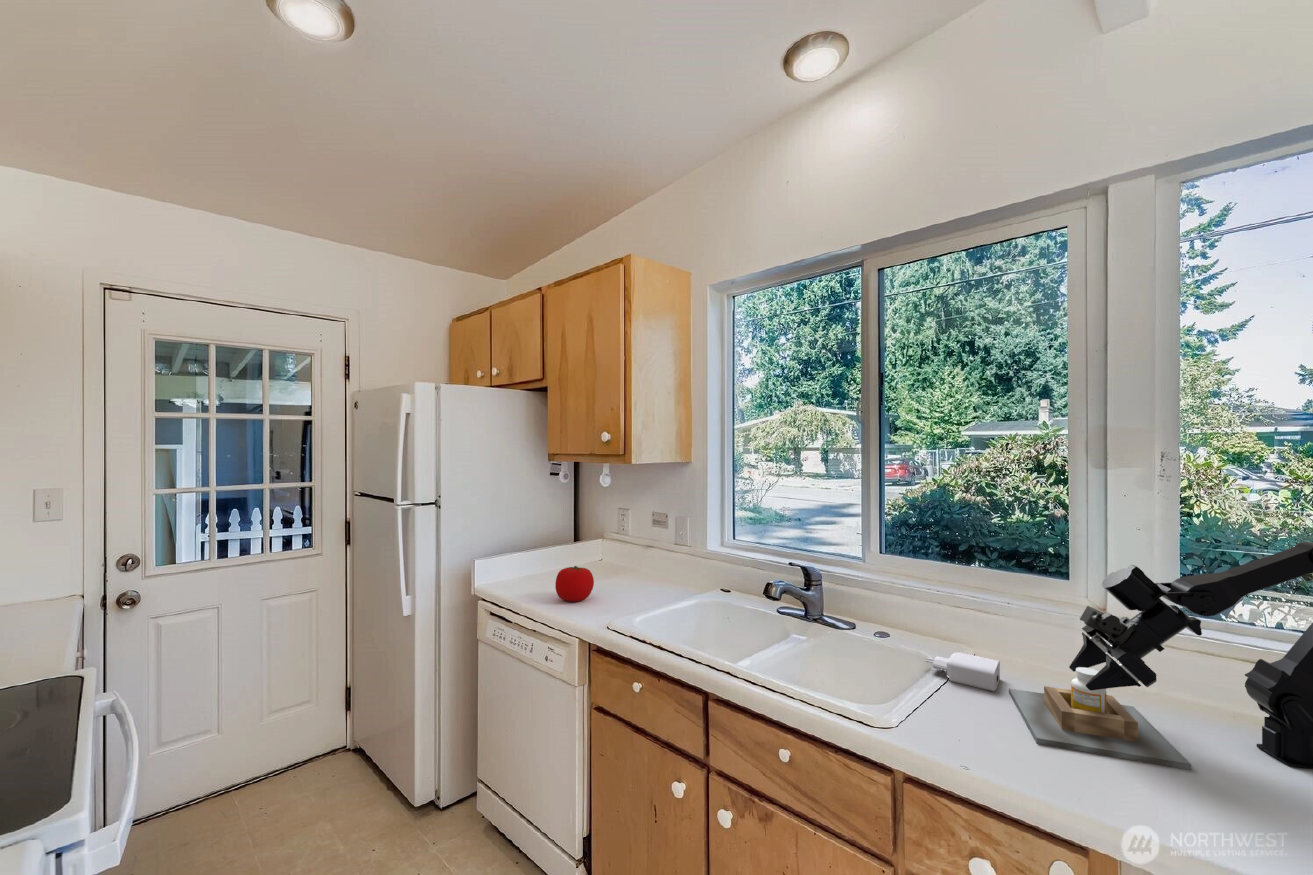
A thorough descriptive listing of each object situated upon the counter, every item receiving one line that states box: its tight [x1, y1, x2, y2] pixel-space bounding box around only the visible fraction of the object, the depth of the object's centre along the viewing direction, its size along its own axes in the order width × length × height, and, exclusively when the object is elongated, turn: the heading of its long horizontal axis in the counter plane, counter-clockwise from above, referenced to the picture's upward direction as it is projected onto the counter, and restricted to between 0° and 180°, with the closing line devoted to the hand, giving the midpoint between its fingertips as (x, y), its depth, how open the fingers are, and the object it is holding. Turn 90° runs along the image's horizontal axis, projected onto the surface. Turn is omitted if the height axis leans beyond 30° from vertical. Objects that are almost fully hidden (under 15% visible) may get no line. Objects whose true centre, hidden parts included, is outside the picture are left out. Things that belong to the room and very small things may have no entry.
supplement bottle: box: [1070, 667, 1107, 713], centre depth 107 cm, size 5×5×10 cm
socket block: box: [1008, 685, 1192, 771], centre depth 107 cm, size 22×22×4 cm
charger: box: [924, 651, 1001, 692], centre depth 130 cm, size 5×9×15 cm
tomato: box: [554, 565, 595, 603], centre depth 192 cm, size 13×14×12 cm
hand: (1079, 678), depth 108 cm, fingers open, 9 cm apart
